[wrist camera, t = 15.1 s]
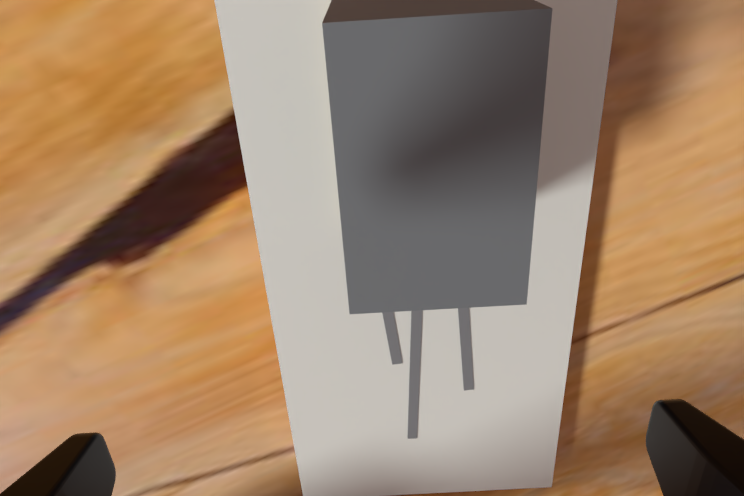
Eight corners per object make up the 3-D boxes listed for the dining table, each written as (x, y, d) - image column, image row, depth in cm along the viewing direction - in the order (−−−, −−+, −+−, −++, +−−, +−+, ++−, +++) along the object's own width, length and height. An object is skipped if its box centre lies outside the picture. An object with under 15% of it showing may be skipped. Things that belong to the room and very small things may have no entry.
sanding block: (489, 217, 19) (526, 304, 15) (352, 225, 19) (349, 314, 15) (499, -16, 16) (552, 8, 11) (333, -5, 16) (322, 22, 11)
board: (544, 465, 27) (551, 487, 26) (305, 477, 27) (303, 500, 26) (606, -46, 16) (624, -44, 15) (221, -20, 17) (211, -16, 16)
